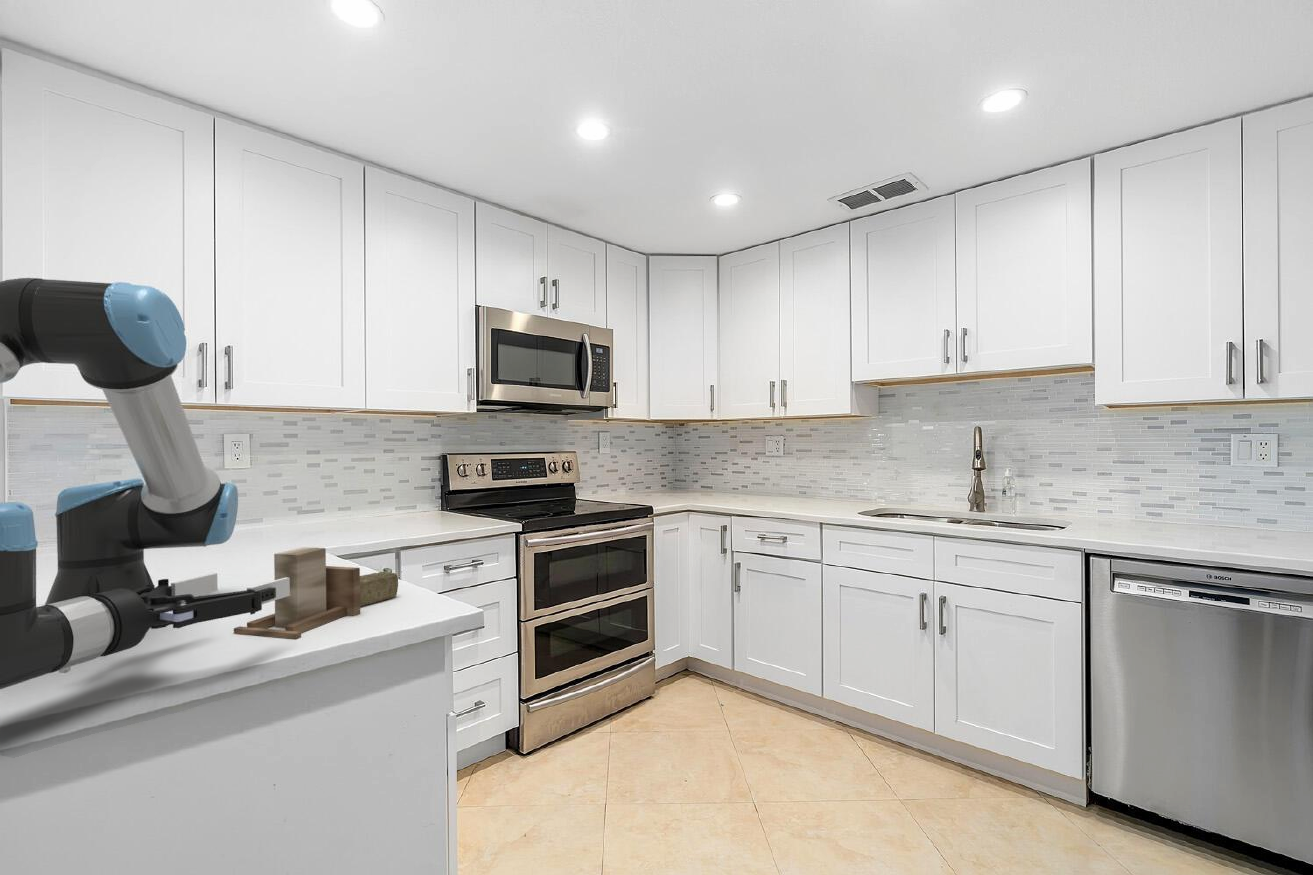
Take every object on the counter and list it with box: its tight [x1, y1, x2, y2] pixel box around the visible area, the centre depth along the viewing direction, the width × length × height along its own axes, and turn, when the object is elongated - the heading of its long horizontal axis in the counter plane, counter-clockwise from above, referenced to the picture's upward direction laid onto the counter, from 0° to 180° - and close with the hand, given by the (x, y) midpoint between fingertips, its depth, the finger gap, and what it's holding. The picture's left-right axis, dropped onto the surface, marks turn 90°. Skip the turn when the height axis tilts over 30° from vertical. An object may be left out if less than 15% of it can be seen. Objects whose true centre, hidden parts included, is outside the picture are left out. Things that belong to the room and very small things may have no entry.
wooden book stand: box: [233, 565, 361, 640], centre depth 103 cm, size 12×14×8 cm
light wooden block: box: [273, 546, 327, 629], centre depth 103 cm, size 4×6×12 cm
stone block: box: [360, 571, 399, 608], centre depth 115 cm, size 6×12×5 cm, turn 151°
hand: (251, 584), depth 94 cm, fingers open, 13 cm apart
